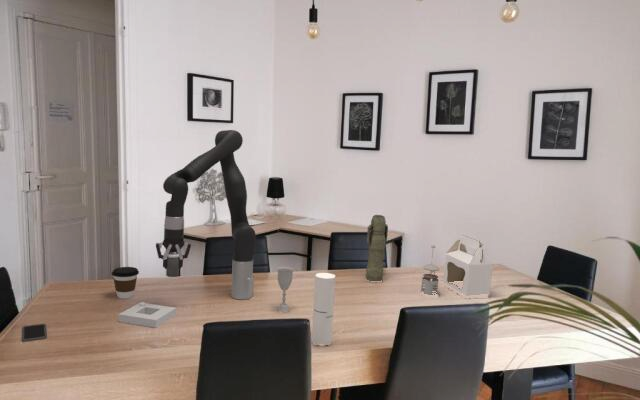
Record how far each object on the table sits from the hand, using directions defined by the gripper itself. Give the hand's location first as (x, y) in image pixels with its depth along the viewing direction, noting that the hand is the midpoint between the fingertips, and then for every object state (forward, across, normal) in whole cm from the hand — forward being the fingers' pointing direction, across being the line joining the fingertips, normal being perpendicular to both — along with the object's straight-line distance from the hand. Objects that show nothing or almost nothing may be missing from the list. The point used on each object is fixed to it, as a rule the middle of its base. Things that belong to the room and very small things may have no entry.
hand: (172, 268), depth 195 cm
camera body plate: (+18, +9, +7) cm, 21 cm away
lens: (+3, 0, 0) cm, 3 cm away
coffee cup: (+18, +19, -20) cm, 33 cm away
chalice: (+17, -46, +6) cm, 49 cm away
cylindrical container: (+17, -52, +40) cm, 68 cm away
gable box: (+16, -144, -5) cm, 145 cm away
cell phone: (+19, +46, +14) cm, 52 cm away
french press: (+16, -122, -4) cm, 123 cm away
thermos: (+16, -103, -29) cm, 109 cm away
